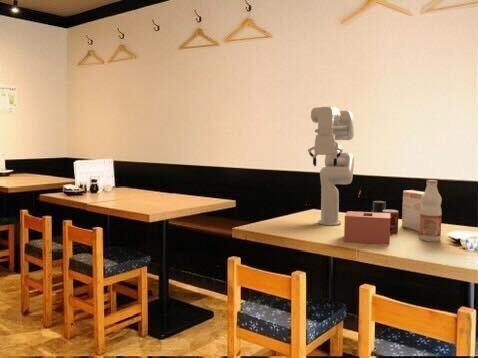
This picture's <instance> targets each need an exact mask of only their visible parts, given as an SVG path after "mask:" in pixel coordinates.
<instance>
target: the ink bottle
mask: <svg viewBox="0 0 478 358" xmlns="http://www.w3.org/2000/svg"><path fill="white" fill-rule="evenodd" d="M386 202H387V201H383V200H374V201H373V200H372V208H373V209H372V210H371V211H370V212H373V213H383V210H386V208H387V206H386V205H387V203H386Z"/></svg>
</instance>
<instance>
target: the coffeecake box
mask: <svg viewBox="0 0 478 358" xmlns="http://www.w3.org/2000/svg"><path fill="white" fill-rule="evenodd" d="M424 192H425V191H420V190H414V189H410V190H407V189H406V190H403V191H402V208H401V209H402V212H401V215H402V216H401V227H404V228H407V229H410V230H414V231H417V232H419V227H420V208H421V206H422V203H421V196H422V195H423V193H424Z"/></svg>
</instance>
